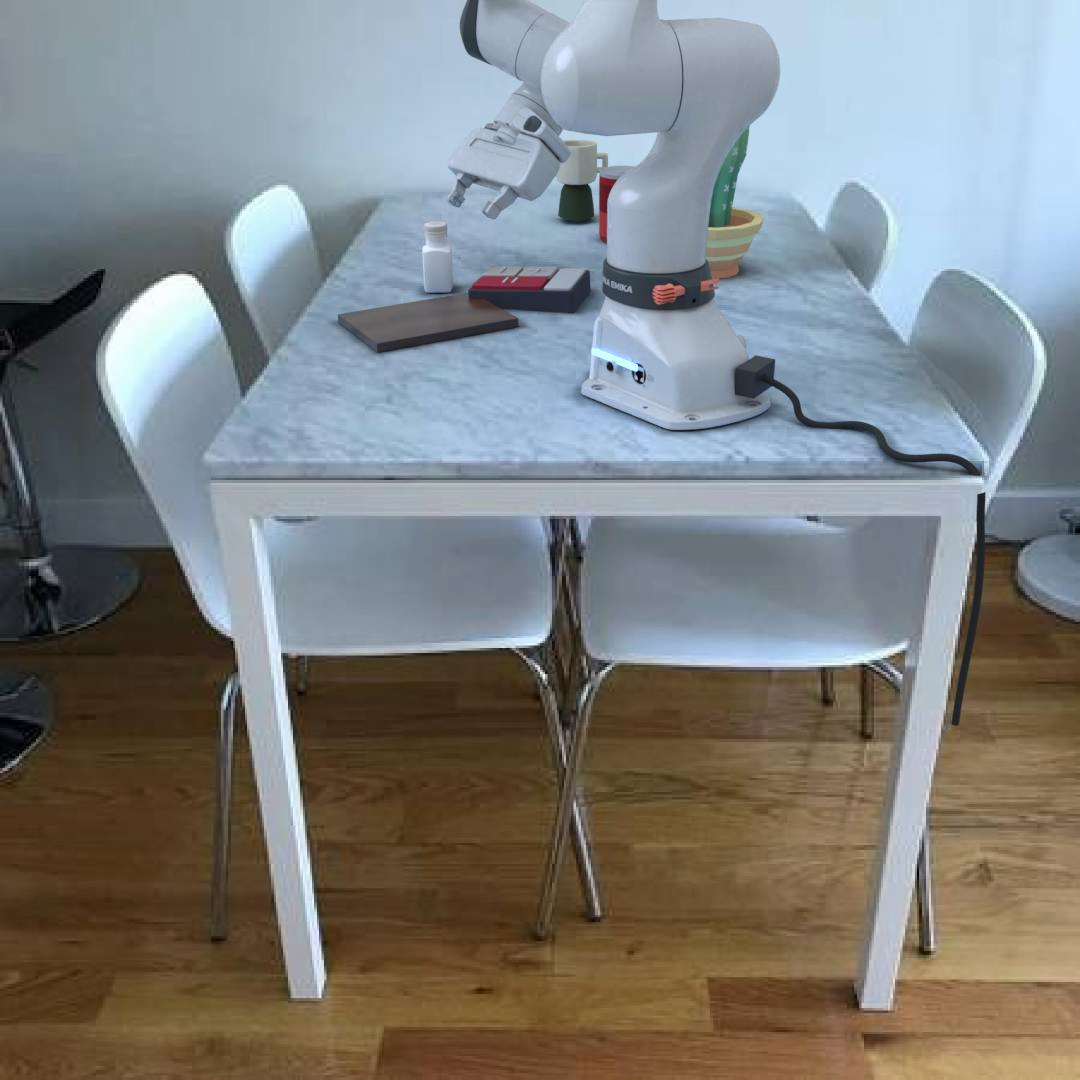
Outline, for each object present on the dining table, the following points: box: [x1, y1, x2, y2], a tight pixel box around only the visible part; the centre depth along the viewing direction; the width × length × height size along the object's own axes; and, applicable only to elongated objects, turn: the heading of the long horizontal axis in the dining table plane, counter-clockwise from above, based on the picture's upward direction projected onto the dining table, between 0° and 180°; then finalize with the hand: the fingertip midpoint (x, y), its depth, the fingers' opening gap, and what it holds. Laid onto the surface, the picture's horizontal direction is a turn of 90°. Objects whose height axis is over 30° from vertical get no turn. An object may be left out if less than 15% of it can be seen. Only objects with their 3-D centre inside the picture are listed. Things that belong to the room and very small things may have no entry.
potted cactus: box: [706, 125, 765, 279], centre depth 179 cm, size 15×15×25 cm
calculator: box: [467, 265, 592, 314], centre depth 173 cm, size 11×4×15 cm
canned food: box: [598, 165, 636, 243], centre depth 200 cm, size 8×8×11 cm
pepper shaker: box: [421, 220, 454, 294], centre depth 176 cm, size 4×4×10 cm
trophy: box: [555, 139, 609, 222], centre depth 211 cm, size 11×7×13 cm, turn 95°
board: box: [337, 292, 520, 353], centre depth 163 cm, size 14×20×1 cm
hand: (469, 210), depth 176 cm, fingers open, 8 cm apart
